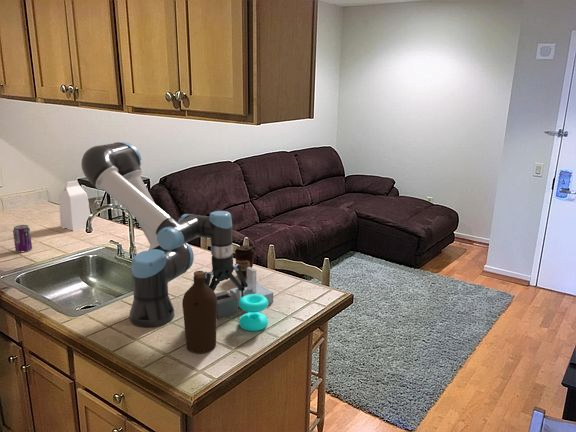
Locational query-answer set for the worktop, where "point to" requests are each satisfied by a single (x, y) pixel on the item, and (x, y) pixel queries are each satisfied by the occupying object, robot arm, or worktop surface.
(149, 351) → the worktop surface
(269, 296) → the base
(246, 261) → the coffee cup
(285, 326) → the worktop surface
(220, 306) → the grey block
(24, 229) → the beverage can
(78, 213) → the milk
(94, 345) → the worktop surface
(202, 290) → the olive oil
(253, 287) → the post
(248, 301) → the donuts
